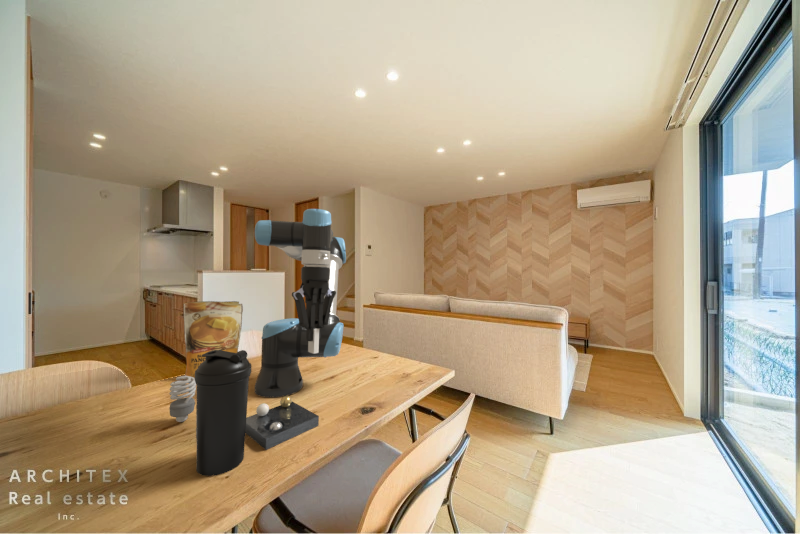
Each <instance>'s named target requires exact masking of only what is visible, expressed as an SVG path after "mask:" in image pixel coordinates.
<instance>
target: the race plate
mask: <svg viewBox="0 0 800 534" xmlns="http://www.w3.org/2000/svg"><path fill="white" fill-rule="evenodd" d="M319 419H320V418H319V415H317V414H316V413H314V412H312V411H310V410H308V409H307V408H305V407H303V406H301V405H300V404H298V403H296V402H294V401H292V402H291V404H290V406H288V407H282V406H281V404H280V405H278V406H275V407H271V408H269V411H268V413H267V414H266V415H264V416H259V415H258V414H257V413H255V414H253V415H250V416H246V431H245V435H246V436H248V437H249V438H251V440H253V441H254V442H255V443H257V444H258V445H259V446H260V447H261V448H263V449H264V450H265V451H267V450H269V449H272V448H273V447H275V446H278V445H281V444H282V443H284V442H286V441H289V440H291V439H293V438H295V437H297V436H299V435H302V434H304V433H306V432H308V431H310V430H312V429H314V428H316V427H319V426H320V425H319V421H320V420H319ZM274 422H280V423H281V424H282V425H283V427H282V428H280V429H278V430H274V431H269V427H270V425H271V424H272V423H274Z"/></svg>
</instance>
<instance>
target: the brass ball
mask: <svg viewBox="0 0 800 534" xmlns="http://www.w3.org/2000/svg"><path fill="white" fill-rule="evenodd" d="M291 402H293V400H292V397H291V396H289V395H286V396H281V398H280V401H279V404H280V405H281V406H282V407H288V406H290V404H291Z"/></svg>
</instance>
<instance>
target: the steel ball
mask: <svg viewBox="0 0 800 534" xmlns="http://www.w3.org/2000/svg"><path fill="white" fill-rule="evenodd" d="M282 427H283V425H282V424H281V423H280V422H274V423H272V424H271V425H270V427H269V431H274V430H278V429H280V428H282Z"/></svg>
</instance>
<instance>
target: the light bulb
mask: <svg viewBox="0 0 800 534" xmlns="http://www.w3.org/2000/svg"><path fill="white" fill-rule="evenodd" d="M184 379H188V380H184ZM194 379H195V378H194V377H190V376H185V375H182V376H177V377H176V378H175V381H172V382H171V383H170V384H169V385H170V387H169V391H170V392H169V395H170V397H169V399H170V400H173V401H171V402H170V404H169V409H168V410H169V415H170V417H171V418H175V421H176V422H179V423H184V422H185V421H186V420H187V419H189V415H191V414H192V413H193V412H194V411H195V407H196V406H195V405H196V404H195V403H196V402H195V400H196V399H195V398H194V397H195V395H196V391H197V384H196V383H195V380H194ZM191 380H192V381H191Z"/></svg>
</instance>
